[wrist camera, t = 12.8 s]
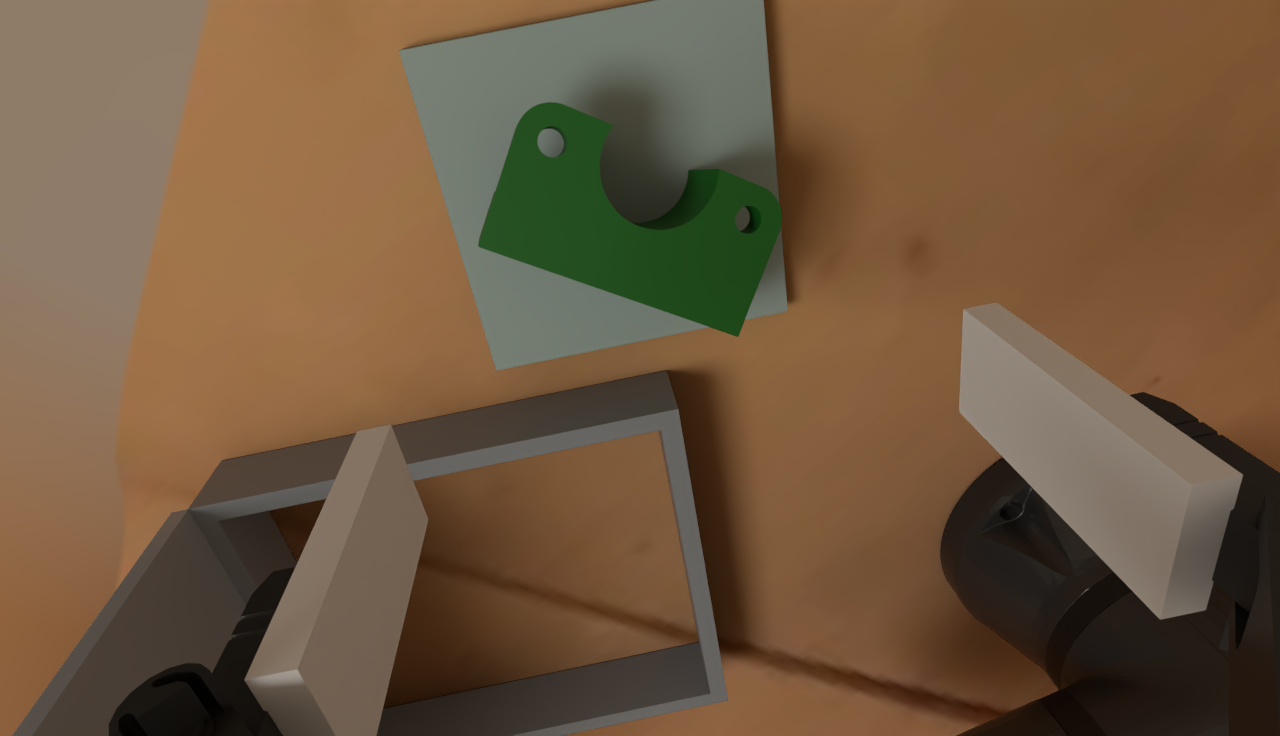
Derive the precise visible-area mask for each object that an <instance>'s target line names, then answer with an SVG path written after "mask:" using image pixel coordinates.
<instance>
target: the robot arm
mask: <svg viewBox="0 0 1280 736" xmlns="http://www.w3.org/2000/svg"><path fill="white" fill-rule="evenodd" d="M959 412H960V413H961V414H962V415H963V416H964V417H965V418H966V419H967V421H968V422H969V423H970V424H971V425H972V426H973V427H974V428H975V429H976V430H977V431H978V432H979V433H980V434H981V435H982V436H983V437H984V438H985V439H986V440H987V441H988V442H989V443H990V444H991V445H992V446H993V447H994V448H995V449H996V450H997V452H998V453H999V454H1000V455H1001V456H1002V457H1003V459H1001V460H1000V461H999V462H997V463H996V464H994V465H993V466H992V467H991V468H989V469H988V470H987V471H986V472H985V473H983V474H982V475H981V476H980V477H979V478H978V479H977V480H976V481H975V482H974V483H973V484H972V485H971V486H970V487H969V489H968V490H967V491H966V492H965V493H964V495H963V496H962V497H961V499H960V500H959V502H958V503H957V505H956V506H955V508H954V509H953V511H952V513H951V515H950V517H949V519H948V521H947V524H946V526H945V529H944V533H943V536H942V541H941V550H940V555H941V564H942V569H943V572H944V575H945V577H946V579H947V581H948V582H949V584H950V585H951V587H952V588H953V590H954V591H955V593H956V594H957V596H958V597H959V599H960V600H961V602H962V603H963V605H964V606H965V607H966V609H967V610H968V611H969V612H970V613H971V614H972V615H973V616H974V617H975V618H976V619H978V620H979V621H980V622H981V623H983V624H984V625H986V626H988V627H989V628H991V629H992V630H993V631H994V632H995V633H997V634H998V635H999V636H1000V637H1002V638H1003V639H1004V640H1005V641H1007V642H1008V643H1009V644H1011V645H1012V646H1013V647H1014V648H1016V649H1017V650H1018V651H1020V652H1021V653H1022V654H1024V655H1025V656H1026V657H1028V658H1029V659H1030V660H1031V661H1033V662H1034V663H1035V664H1037V665H1038V666H1039V667H1041V668H1042V669H1043V670H1044V671H1045V672H1046V673H1047V674H1048V675H1049V677H1050V678H1051V679H1052V681H1053V682H1054V684H1055V685H1056V686H1057V688H1058V689H1059V691H1056V692H1054V693H1052V694H1050V695H1047V696H1045V697H1043V698H1041V699H1038V700H1035V701H1033V702H1030V703H1028V704H1026V705H1024V706H1021V707H1019V708H1017V709H1015V710H1012V711H1010V712H1008V713H1006V714H1003V715H1001V716H999V717H997V718H995V719H992V720H990V721H988V722H986V723H983V724H981V725H979V726H977V727H974V728H972V729H970V730H968V731H965V732H963V733H961V734H959V735H956V736H1280V473H1279V472H1277V471H1276V470H1274V469H1273V468H1271V467H1270V466H1268V465H1267V464H1265V463H1264V462H1262V461H1261V460H1259V459H1258V458H1256V457H1255V456H1253V455H1252V454H1250V453H1249V452H1247V451H1246V450H1244V449H1243V448H1241V447H1240V446H1238V445H1236V444H1235V443H1233V442H1232V441H1230V440H1229V439H1227V438H1226V437H1224V436H1223V435H1220V436H1219V435H1218V434H1217V431H1215V430H1214V429H1212V428H1211V427H1209V426H1208V425H1206V424H1205V423H1203V422H1201V423H1199V421H1198V419H1197V418H1196V417H1194V416H1193V415H1191V414H1190V413H1188V412H1187V411H1185V410H1184V409H1182V408H1181V407H1179V406H1177V405H1176V404H1174V403H1172V402H1169V401H1166V400H1163V399H1161V398H1158V397H1155V396H1153V395H1150V394H1147V393H1144V392H1142V393H1137V394H1133V395H1128V394H1127V393H1125V392H1124V391H1123V390H1121V389H1120V388H1118V387H1117V386H1115V385H1114V384H1113V383H1111V382H1110V381H1108V380H1107V379H1105V378H1104V377H1103V376H1101V375H1100V374H1098V373H1097V372H1095V371H1094V370H1093V369H1091V368H1090V367H1088V366H1087V365H1085V364H1084V363H1083V362H1081V361H1080V360H1078V359H1077V358H1075V357H1074V356H1072V355H1071V354H1070V353H1068V352H1067V351H1065V350H1064V349H1062V348H1061V347H1060V346H1058V345H1057V344H1055V343H1054V342H1052V341H1051V340H1050V339H1048V338H1047V337H1045V336H1044V335H1042V334H1041V333H1040V332H1038V331H1037V330H1035V329H1034V328H1032V327H1031V326H1030V325H1028V324H1027V323H1025V322H1024V321H1022V320H1021V319H1020V318H1018V317H1017V316H1015V315H1014V314H1012V313H1011V312H1009V311H1008V310H1007V309H1005V308H1004V307H1002V306H1001V305H999V304H998V303H997V302H996V303H991V304H986V305H981V306H976V307H971V308H966V309H963V331H962V354H961V376H960V399H959ZM428 520H429V519H428V517H427V514H426V512H425V509H424V507H423V504H422V502H421V499H420V497H419V494H418V492H417V489H416V487H415V484H414V481H413V479H412V476H411V474H410V471H409V469H408V466H407V464H406V461H405V459H404V456H403V454H402V451H401V449H400V446H399V444H398V441H397V439H396V436H395V434H394V431H393V429H392V426H391V425H386V426H381V427H376V428H371V429H366V430H361V431H357V433H356V435H355V437H354V439H353V442H352V444H351V446H350V448H349V450H348V453H347V455H346V457H345V459H344V461H343V464H342V466H341V468H340V470H339V472H338V475H337V477H336V479H335V481H334V483H333V486H332V488H331V490H330V492H329V494H328V497H327V499H326V501H325V503H324V505H323V508H322V510H321V512H320V514H319V517H318V519H317V521H316V523H315V525H314V528H313V530H312V532H311V534H310V536H309V539H308V541H307V543H306V545H305V547H304V550H303V552H302V554H301V556H300V558H299V561H298V563H297V565H296V567H292V568H287V569H282V570H277V571H273V572H272V573H271V574H270V575H269V576H268V577H267V579H266V580H265V581H264V582H263V583H262V584H261V585H260V586H259V587H258V588H257V589H256V590H255V591H254V592H253V593H252V595H251V597H250V599H249V601H248V603H247V605H246V607H245V609H244V611H243V613H242V615H241V621H238V623H237V625H236V627H235V629H234V631H233V633H232V635H231V637H232V639H231V640H229V641H228V643H227V645H226V647H225V648H224V650H223V652H222V654H221V656H220V658H219V660H218V662H217V664H216V666H215V668H214V670H213V672H212V673H211V671H210V670H209V669H208V668H206V667H205V666H203V665H202V664H199V663H184V664H181V665H177V666H174V667H170V668H167V669H166V670H164V671H162V672H160V673H158V674H156V675H154V676H152V677H150V678H149V679H147V680H146V681H145V682H143V683H142V684H141V685H140V686H138V687H137V688H136V689H134V690H133V691H132V692H131V693H130V694H129V695H128V696H127V697H126V698H125V699H124V701H123V702H122V703H121V704H120V705H119V706H118V707H117V709H116V711H115V713H114V715H113V717H112V719H111V721H110V723H109V736H376V735H377V731H378V727H379V723H380V719H381V715H382V710H383V706H384V702H385V698H386V694H387V690H388V686H389V681H390V677H391V673H392V669H393V665H394V661H395V657H396V652H397V648H398V644H399V640H400V636H401V632H402V628H403V623H404V619H405V615H406V611H407V607H408V603H409V599H410V594H411V590H412V586H413V582H414V578H415V574H416V570H417V565H418V561H419V557H420V553H421V549H422V545H423V541H424V536H425V532H426V528H427V524H428Z"/></svg>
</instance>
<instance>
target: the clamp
mask: <svg viewBox="0 0 1280 736" xmlns="http://www.w3.org/2000/svg"><path fill="white" fill-rule="evenodd" d="M613 126H614V125H612V124H610V123H607V122H605V121H602V120H600V119H597V118H595V117H593V116H590V115H588V114H585V113H583V112H581V111H578V110H576V109H573V108H571V107H568V106H566V105H563V104H560V103H555V102H546V103H541V104H538V105H536V106H534V107H532V108H530V109H529V110H528V111H527V112H526V113H525V114H524V115H523V116H522V117H521V119H520V121H519V122H518V124H517V126H516V129H515V132H514V135H513V138H512V141H511V144H510V147H509V150H508V154H507V157H506V160H505V163H504V166H503V169H502V172H501V175H500V178H499V181H498V185H497V188H496V191H495V192H494V194H493V197H492V200H491V203H490V206H489V209H488V212H487V216H486V219H485V222H484V225H483V228H482V231H481V234H480V237H479V243H478V247H480V248H483V249H486V250H489V251H491V252H494V253H497V254H500V255H503V256H506V257H509V258H512V259H515V260H517V261H520V262H523V263H526V264H529V265H532V266H535V267H538V268H541V269H543V270H546V271H549V272H552V273H555V274H558V275H561V276H564V277H567V278H569V279H572V280H575V281H578V282H581V283H584V284H587V285H590V286H592V287H595V288H598V289H601V290H604V291H607V292H610V293H613V294H616V295H618V296H621V297H624V298H627V299H630V300H633V301H636V302H639V303H642V304H644V305H647V306H650V307H653V308H656V309H659V310H662V311H665V312H668V313H670V314H673V315H676V316H679V317H682V318H685V319H688V320H691V321H694V322H696V323H699V324H702V325H705V326H708V327H711V328H714V329H717V330H720V331H722V332H725V333H728V334H731V335H734V336H737V337H738V336H739V333H740V331H741V328H742V326H743V323H744V321H745V318H746V316H747V313H748V310H749V308H750V305H751V303H752V300H753V298H754V295H755V293H756V290H757V288H758V285H759V283H760V280H761V278H762V275H763V273H764V270H765V267H766V265H767V262H768V260H769V257H770V255H771V252H772V250H773V247H774V245H775V242H776V240H777V237H778V235H779V232H780V229H781V225H782V211H781V207H780V204H779V202H778V200H777V199H776V197H775V196H774V195H773V194H772V193H771V192H770V191H769V190H767V189H766V188H764V187H762V186H759V185H757V184H754V183H752V182H750V181H747V180H745V179H742V178H740V177H738V176H735V175H733V174H730V173H728V172H726V171H723V170H721V169H704V170H688V178H687V183H686V187H685V189H684V192H683V194H682V196H681V198H680V199H679V201H678V202H677V203H676V205H675V206H674V207H673V208H672V209H671V210H670V211H669V212H667V213H666V214H665V215H663V216H661V217H659V218H657V219H655V220H652V221H649V222H644V223H631V222H629V221H628V220H626V219H625V218H624V217H622V216H621V215H620V214H619V213H618V212H617V211H616V210H615V209H614V207H613V206H612V205H611V203H610V202H609V200H608V198H607V196H606V194H605V192H604V189H603V186H602V182H601V178H600V156H601V151H602V147H603V144H604V142H605V139H606V137H607V135H608V133H609V132H610V130H611V129H612V127H613ZM544 129H554V130H556V131H558V132H559V133H560V134H561V136H562V138H563V141H564V147H563V150H562V152H561V154H560V155H558V156H557V157H548V156H546V155H544V154H543V153H542V152H541V151H540V149H539V147H538V142H537V140H538V136H539V133H540V132H541V131H542V130H544ZM742 207H746V208H747V210H748V212H749V215H750V220H749V223H748V225H747V226H746V227H745V228H744V229H743V230H741V231H739V230H738V228H737V226H736V223H735V217H736V214H737V212H738V211H739V210H740V209H741V208H742Z"/></svg>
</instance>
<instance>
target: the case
mask: <svg viewBox="0 0 1280 736" xmlns="http://www.w3.org/2000/svg"><path fill="white" fill-rule="evenodd" d="M392 429H393V431H394V434H395V436H396V439H397V441H398V444H399V446H400V449H401V451H402V454H403V456H404V459H405V461H406V464H407V466H408V469H409V471H410V474H411V476H412V479H413V481H415V480H420V479H425V478H430V477H435V476H440V475H445V474H449V473H454V472H459V471H464V470H469V469H474V468H479V467H484V466H488V465H493V464H498V463H503V462H508V461H513V460H518V459H523V458H527V457H532V456H537V455H542V454H547V453H552V452H557V451H562V450H566V449H571V448H576V447H581V446H586V445H591V444H596V443H601V442H605V441H610V440H615V439H620V438H625V437H630V436H635V435H640V434H644V433H649V432H654V431H659V434H660V439H661V444H662V450H663V455H664V460H665V465H666V471H667V476H668V481H669V487H670V492H671V497H672V502H673V508H674V513H675V518H676V524H677V529H678V534H679V540H680V545H681V550H682V555H683V561H684V566H685V571H686V577H687V582H688V587H689V593H690V598H691V603H692V608H693V614H694V619H695V624H696V630H697V635H698V640H699V642H698V643H693V644H689V645H684V646H679V647H674V648H670V649H665V650H660V651H655V652H651V653H646V654H641V655H636V656H632V657H627V658H622V659H617V660H613V661H608V662H603V663H598V664H594V665H589V666H584V667H579V668H574V669H570V670H565V671H560V672H555V673H551V674H546V675H541V676H536V677H532V678H527V679H522V680H517V681H513V682H508V683H503V684H498V685H494V686H489V687H484V688H479V689H475V690H470V691H465V692H460V693H456V694H451V695H446V696H441V697H437V698H432V699H427V700H422V701H418V702H413V703H408V704H403V705H399V706H394V707H389V708H384V709H383V710H382V715H381V719H380V723H379V727H378V731H377V735H376V736H563V735H568V734H573V733H577V732H582V731H587V730H591V729H596V728H601V727H606V726H610V725H615V724H620V723H624V722H629V721H634V720H639V719H643V718H648V717H653V716H658V715H662V714H667V713H672V712H676V711H681V710H686V709H691V708H695V707H700V706H705V705H709V704H714V703H719V702H724V701H728V698H727V692H726V686H725V680H724V674H723V668H722V662H721V657H720V651H719V645H718V639H717V633H716V627H715V621H714V616H713V610H712V604H711V598H710V592H709V586H708V580H707V574H706V569H705V563H704V557H703V551H702V545H701V539H700V533H699V527H698V522H697V516H696V510H695V504H694V498H693V492H692V486H691V480H690V475H689V469H688V463H687V457H686V451H685V445H684V439H683V433H682V428H681V422H680V416H679V410H678V406H677V403H676V400H675V396H674V393H673V390H672V386H671V383H670V380H669V376H668V373H667V370H665V371H661V372H656V373H651V374H646V375H641V376H636V377H631V378H626V379H621V380H616V381H612V382H607V383H602V384H597V385H592V386H587V387H582V388H577V389H572V390H567V391H562V392H558V393H553V394H548V395H543V396H538V397H533V398H528V399H523V400H518V401H513V402H508V403H504V404H499V405H494V406H489V407H484V408H479V409H474V410H469V411H464V412H459V413H455V414H450V415H445V416H440V417H435V418H430V419H425V420H420V421H415V422H410V423H405V424H401V425H396V426H392ZM355 435H356V434H351V435H347V436H342V437H337V438H332V439H327V440H322V441H317V442H312V443H307V444H302V445H298V446H293V447H288V448H283V449H278V450H273V451H268V452H263V453H258V454H253V455H248V456H244V457H239V458H234V459H229V460H224V461H221V462H220V464H219V465H218V466H217V468H216V469H215V471H214V472H213V474H212V475H211V477H210V478H209V480H208V481H207V482H206V484H205V485H204V487H203V488H202V490H201V491H200V493H199V494H198V496H197V497H196V498H195V500H194V501H193V503H192V504H191V506H190V507H189V509H187V510H182V511H178V512H173V513H171V514H170V516H169V517H168V518H167V520H166V521H165V523H164V524H163V525H162V527H161V528H160V530H159V531H158V532H157V534H156V535H155V537H154V538H153V539H152V541H151V542H150V544H149V545H148V546H147V548H146V549H145V551H144V552H143V553H142V555H141V556H140V558H139V559H138V560H137V562H136V563H135V565H134V566H133V567H132V569H131V570H130V572H129V573H128V574H127V576H126V577H125V579H124V580H123V581H122V583H121V584H120V586H119V587H118V588H117V590H116V591H115V593H114V594H113V595H112V597H111V598H110V600H109V601H108V602H107V604H106V605H105V607H104V608H103V609H102V611H101V612H100V614H99V615H98V616H97V618H96V619H95V621H94V622H93V623H92V625H91V626H90V627H89V629H88V630H87V632H86V633H85V635H84V636H83V637H82V639H81V640H80V641H79V643H78V644H77V646H76V647H75V648H74V650H73V651H72V653H71V654H70V655H69V657H68V658H67V660H66V661H65V663H64V664H63V665H62V667H61V668H60V669H59V671H58V672H57V674H56V675H55V677H54V678H53V679H52V681H51V682H50V683H49V685H48V686H47V688H46V689H45V691H44V692H43V693H42V695H41V696H40V697H39V699H38V700H37V702H36V703H35V705H34V706H33V707H32V709H31V710H30V712H29V713H28V714H27V716H26V717H25V718H24V720H23V721H22V723H21V725H19V727H18V728H17V730H16V731H15V732H14V734H13V735H12V736H109V723H110V721H111V719H112V717H113V715H114V713H115V711H116V709H117V707H118V706H119V705H120V704H121V703H122V702H123V701H124V699H125V698H126V697H127V696H128V695H129V694H130V693H131V692H132V691H133V690H134V689H136V688H137V687H138V686H140V685H141V684H142V683H143V682H145V681H146V680H147V679H149V678H150V677H152V676H154V675H156V674H158V673H160V672H162V671H164V670H166V669H167V668H170V667H174V666H177V665H181V664H184V663H199V664H202V665H203V666H205V667H206V668H208V669H209V670H210V671H211V673H212V672H213V670H214V668H215V666H216V664H217V662H218V660H219V658H220V656H221V654H222V652H223V650H224V648H225V647H226V645H227V643H228V641H229V640H231V639H232V637H231V635H232V633H233V631H234V629H235V627H236V625H237V623H238V621H241V615H242V613H243V611H244V609H245V607H246V605H247V603H248V601H249V599H250V597H251V595H252V593H253V592H254V591H255V590H256V589H257V588H258V587H259V586H260V585H261V584H262V583H263V582H264V581H265V580H266V579H267V577H268V576H269V575H270V574H271V573H272V572H273V571H277V570H282V569H287V568H292V567H296V565H297V562H296V561H295V559H294V557H293V555H292V553H291V551H290V549H289V547H288V546H287V544H286V542H285V540H284V538H283V536H282V534H281V533H280V531H279V529H278V527H277V525H276V523H275V521H274V520H273V518H272V516H271V514H270V512H269V510H274V509H279V508H284V507H289V506H294V505H298V504H303V503H308V502H313V501H318V500H323V499H327V497H328V494H329V492H330V490H331V488H332V486H333V483H334V481H335V479H336V477H337V475H338V472H339V470H340V468H341V466H342V464H343V461H344V459H345V457H346V455H347V453H348V450H349V448H350V446H351V444H352V442H353V439H354V437H355Z"/></svg>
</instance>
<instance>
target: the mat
mask: <svg viewBox="0 0 1280 736" xmlns="http://www.w3.org/2000/svg"><path fill="white" fill-rule="evenodd" d="M399 53H400V56H401V59H402V63H403V66H404V69H405V73H406V76H407V79H408V82H409V86H410V89H411V92H412V95H413V99H414V102H415V105H416V109H417V112H418V115H419V118H420V122H421V125H422V128H423V132H424V135H425V138H426V141H427V145H428V148H429V151H430V155H431V158H432V161H433V164H434V168H435V171H436V174H437V177H438V181H439V184H440V187H441V191H442V194H443V197H444V200H445V204H446V207H447V210H448V214H449V217H450V220H451V223H452V227H453V230H454V233H455V237H456V240H457V243H458V246H459V250H460V253H461V256H462V259H463V263H464V266H465V269H466V273H467V276H468V279H469V282H470V286H471V289H472V292H473V296H474V299H475V302H476V305H477V309H478V312H479V315H480V318H481V322H482V325H483V328H484V332H485V335H486V338H487V341H488V345H489V348H490V351H491V355H492V358H493V361H494V364H495V368H496V371H497V370H501V369H506V368H511V367H516V366H521V365H526V364H531V363H536V362H541V361H546V360H551V359H556V358H561V357H566V356H570V355H575V354H580V353H585V352H590V351H595V350H600V349H605V348H610V347H615V346H620V345H625V344H630V343H634V342H639V341H644V340H649V339H654V338H659V337H664V336H669V335H674V334H679V333H684V332H689V331H694V330H698V329H703V328H708V326H705V325H702V324H699V323H696V322H694V321H691V320H688V319H685V318H682V317H679V316H676V315H673V314H670V313H668V312H665V311H662V310H659V309H656V308H653V307H650V306H647V305H644V304H642V303H639V302H636V301H633V300H630V299H627V298H624V297H621V296H618V295H616V294H613V293H610V292H607V291H604V290H601V289H598V288H595V287H592V286H590V285H587V284H584V283H581V282H578V281H575V280H572V279H569V278H567V277H564V276H561V275H558V274H555V273H552V272H549V271H546V270H543V269H541V268H538V267H535V266H532V265H529V264H526V263H523V262H520V261H517V260H515V259H512V258H509V257H506V256H503V255H500V254H497V253H494V252H491V251H489V250H486V249H483V248H480V247H478V243H479V237H480V234H481V231H482V228H483V225H484V222H485V219H486V216H487V212H488V209H489V206H490V203H491V200H492V197H493V194H494V192H495V191H496V188H497V185H498V181H499V178H500V175H501V172H502V169H503V166H504V163H505V160H506V157H507V154H508V150H509V147H510V144H511V141H512V138H513V135H514V132H515V129H516V126H517V124H518V122H519V121H520V119H521V117H522V116H523V115H524V114H525V113H526V112H527V111H528V110H529V109H530V108H532V107H534V106H536V105H538V104H541V103H546V102H555V103H560V104H563V105H566V106H568V107H571V108H573V109H576V110H578V111H581V112H583V113H585V114H588V115H590V116H593V117H595V118H597V119H600V120H602V121H605V122H607V123H610V124H612V125H614V126H613V127H612V129H611V130H610V132H609V133H608V135H607V137H606V139H605V142H604V144H603V147H602V151H601V156H600V178H601V182H602V186H603V189H604V192H605V194H606V196H607V198H608V200H609V202H610V203H611V205H612V206H613V207H614V209H615V210H616V211H617V212H618V213H619V214H620V215H621V216H622V217H624V218H625V219H626V220H628V221H629V222H631V223H644V222H649V221H652V220H655V219H657V218H659V217H661V216H663V215H665V214H666V213H667V212H669V211H670V210H671V209H672V208H673V207H674V206H675V205H676V203H677V202H678V201H679V199H680V198H681V196H682V194H683V192H684V189H685V187H686V183H687V178H688V170H704V169H721V170H723V171H726V172H728V173H730V174H733V175H735V176H738V177H740V178H742V179H745V180H747V181H750V182H752V183H754V184H757V185H759V186H762V187H764V188H766V189H767V190H769V191H770V192H771V193H772V194H773V195H774V196H775V197H776V199H777V200H778V202H779V192H778V179H777V166H776V153H775V140H774V127H773V114H772V102H771V89H770V76H769V63H768V50H767V37H766V24H765V11H764V0H650V1H645V2H640V3H635V4H630V5H625V6H620V7H615V8H609V9H604V10H599V11H594V12H589V13H584V14H579V15H574V16H568V17H563V18H558V19H553V20H548V21H543V22H538V23H533V24H527V25H522V26H517V27H512V28H507V29H502V30H497V31H492V32H486V33H481V34H476V35H471V36H466V37H461V38H456V39H451V40H445V41H440V42H435V43H430V44H425V45H420V46H415V47H410V48H404V49H401V50H399ZM537 142H538V147H539V149H540V151H541V152H542V153H543V154H544V155H546V156H548V157H557V156H558V155H560V154H561V152H562V150H563V147H564V141H563V138H562V136H561V134H560V133H559V132H558V131H556V130H554V129H544V130H542V131H541V132H540V133H539V136H538V140H537ZM749 220H750V215H749V212H748V210H747V208H746V207H742V208H741V209H740V210H739V211H738V212H737V214H736V217H735V223H736V226H737V228H738V230H739V231H741V230H743V229H744V228H745V227H746V226H747V225H748V223H749ZM787 311H788V308H787V295H786V282H785V269H784V256H783V243H782V230H781V229H780V232H779V235H778V237H777V240H776V242H775V245H774V247H773V250H772V252H771V255H770V257H769V260H768V262H767V265H766V267H765V270H764V273H763V275H762V278H761V280H760V283H759V285H758V288H757V290H756V293H755V295H754V298H753V300H752V303H751V305H750V308H749V310H748V313H747V316H746V318H745V320H748V319H753V318H758V317H763V316H767V315H772V314H777V313H782V312H787Z"/></svg>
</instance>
